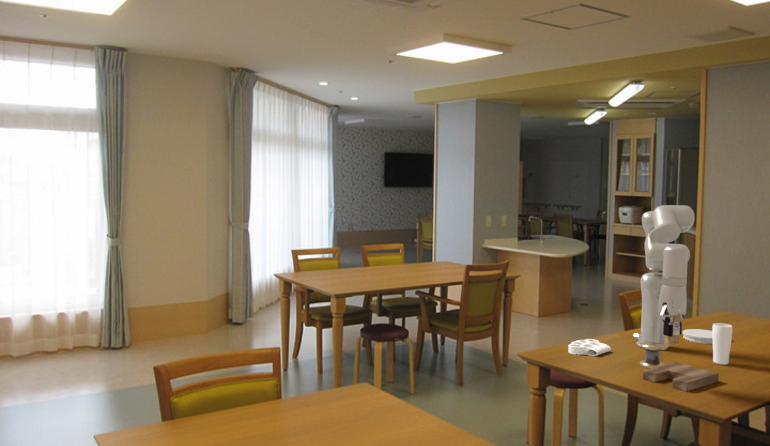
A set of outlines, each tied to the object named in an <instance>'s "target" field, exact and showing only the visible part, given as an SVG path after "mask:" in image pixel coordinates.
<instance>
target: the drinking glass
mask: <svg viewBox="0 0 770 446" xmlns="http://www.w3.org/2000/svg"><path fill="white" fill-rule="evenodd" d="M711 331H712V342H713V344H712V362H713V363H714V364H717V365H720V366H721V365H724V366H726V365H728V364H729V363H730V353H731V347H732V346H731V345H732V339H733V325H732V324H728V323H722V322H715V323H712V329H711Z"/></svg>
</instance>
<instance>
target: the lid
mask: <svg viewBox="0 0 770 446" xmlns="http://www.w3.org/2000/svg"><path fill="white" fill-rule="evenodd" d="M681 334H682V335H683V337H682V338H683V339H684V338H685V339H684V340H686V339H687V340H686V341H688V340H689V342H692V341H693V342H692V343H697V342H698V344H705V345H706V344H707V345H713V342H712V330H708V329H702V328H701V329H699V328H689V329H684V330H683V329H682V331H681Z"/></svg>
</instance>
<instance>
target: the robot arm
mask: <svg viewBox="0 0 770 446" xmlns="http://www.w3.org/2000/svg"><path fill="white" fill-rule="evenodd" d="M694 223H695V212H694V210H693V209H692V207H691V206H689V205H683V204H681V205H678V204H677V205H674V204H673V205H672V204H670V205H669V204H668V205H667V204H663V205H662V204H661V205H659V206H656V208H655V209H654V210H650V211H645V212H643V214H642V215H641V225H642V228H643V230H644V234H645V240H644V254H645V266H646V268H647V269H648V270H650V271H657V272H646V273H644V274H642V275H641V276H640V277H641V278H640V281H639V282H640V290H641V318H640V319H641V322H640V323H641V324H640V333H637V332H634V334H633V339H638V341H636V346H637V347H639V348H641V347H640V343H642V342H656V343H661V344H664V345H666V350H668V349H669V346H670V344H667V343H665V340H666V336H673V325H672V321H673V316H676V315H678V314H679V313H680V334H679V336H680V335H682V332H683V329H682V327H683V322H684V321H683V320H684V317H685V315H686V314H687V306H688V305H687V304H688V302H687V301H688V299H687V297H688V296H687V279H688V278H687V277H688V263H689V260H690V258H691V253H690V252H691V251H690V248H688V246H687V245H686V244H682V243H671V242H674V241H676V240H677V239H678V238H679V237H680V234H681V233H683V234H684V233H686V232H688V231H689V230H690V229H691V228H692V227H693V226H694ZM659 271H660V272H659ZM679 309H680V311H679ZM667 313H669V315H667ZM668 317H670V318H669V319H668Z"/></svg>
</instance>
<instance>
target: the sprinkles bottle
mask: <svg viewBox="0 0 770 446" xmlns="http://www.w3.org/2000/svg"><path fill="white" fill-rule="evenodd" d="M679 311H680V309H679ZM667 315H669V313H667ZM669 318H670V317H668V319H669ZM672 325H673V336H666V335H665V343H666V344H668V345H672V346H677V345H680V335H679V334H680V313H679V314H678V315H676V316H673V321H672Z"/></svg>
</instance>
